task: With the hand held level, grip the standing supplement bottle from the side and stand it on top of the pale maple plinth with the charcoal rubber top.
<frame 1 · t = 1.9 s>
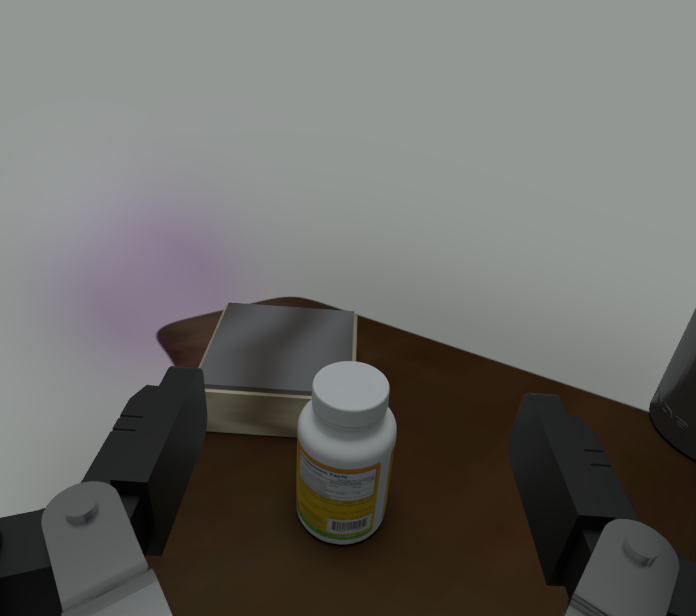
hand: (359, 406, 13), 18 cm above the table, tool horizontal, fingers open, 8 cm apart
supplement bottle: (340, 509, 32), on the table
plinth: (282, 384, 42), on the table
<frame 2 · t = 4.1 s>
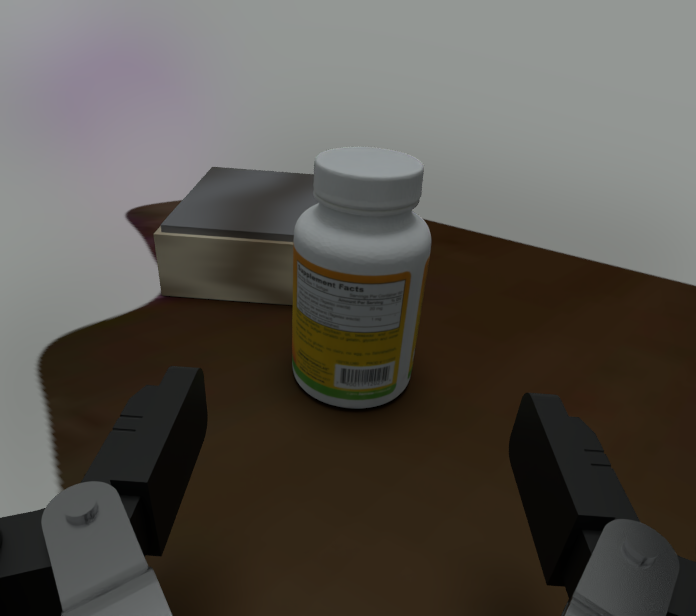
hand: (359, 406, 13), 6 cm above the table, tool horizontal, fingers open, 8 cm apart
supplement bottle: (350, 375, 24), on the table
plinth: (277, 259, 34), on the table
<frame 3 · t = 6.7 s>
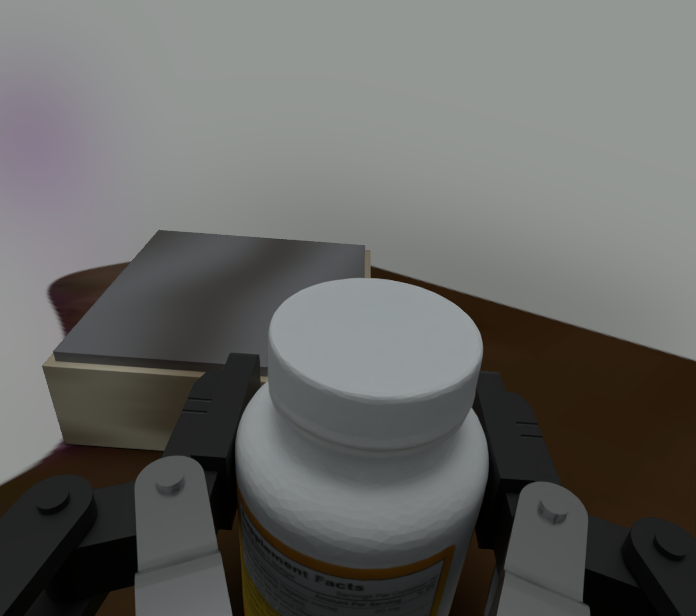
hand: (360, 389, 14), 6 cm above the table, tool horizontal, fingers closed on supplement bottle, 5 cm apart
plinth: (243, 363, 24), on the table
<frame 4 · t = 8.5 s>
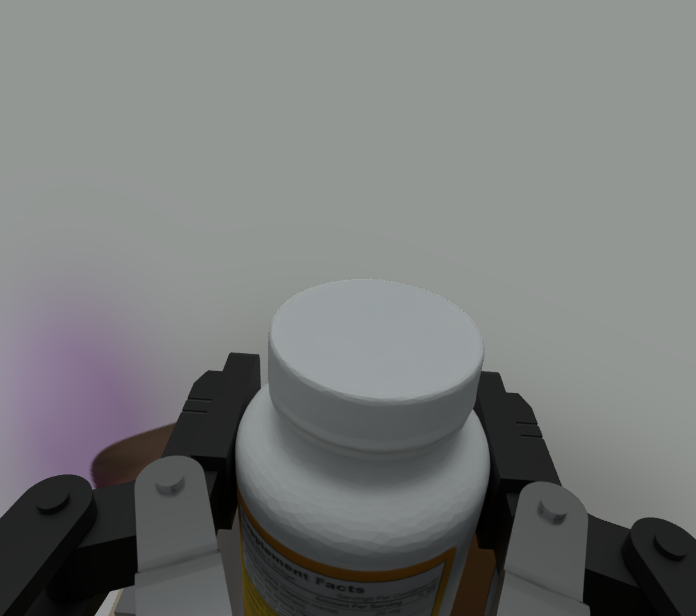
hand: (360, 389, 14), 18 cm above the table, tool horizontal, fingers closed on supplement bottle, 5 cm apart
plinth: (263, 562, 28), on the table
when the fingers open (11 cm above the table, at t = 10.7 s): supplement bottle drops 1 cm, resting on plinth.
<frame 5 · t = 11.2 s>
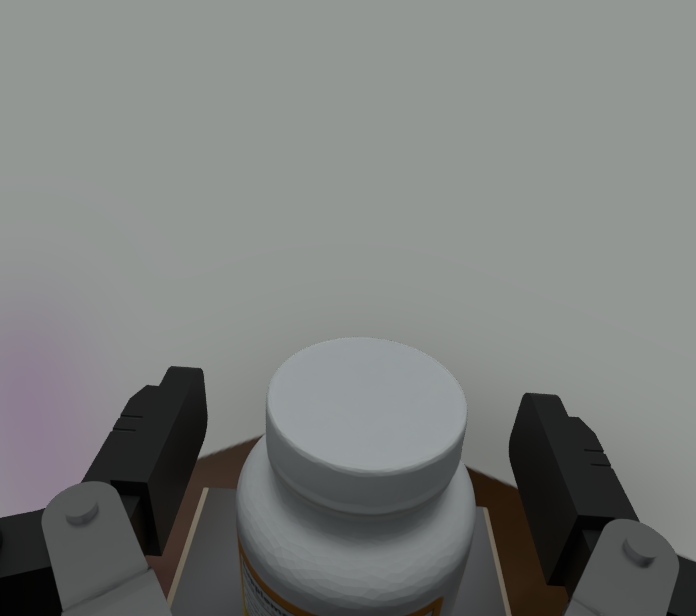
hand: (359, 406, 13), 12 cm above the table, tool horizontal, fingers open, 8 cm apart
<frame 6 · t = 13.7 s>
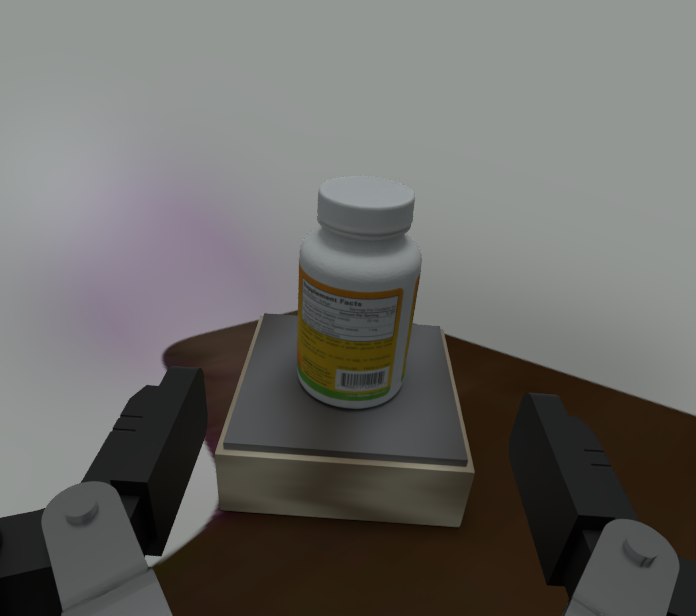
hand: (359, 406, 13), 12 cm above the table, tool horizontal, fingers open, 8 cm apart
supplement bottle: (349, 379, 27), point 4 cm above the table, touching plinth
plinth: (344, 432, 29), on the table
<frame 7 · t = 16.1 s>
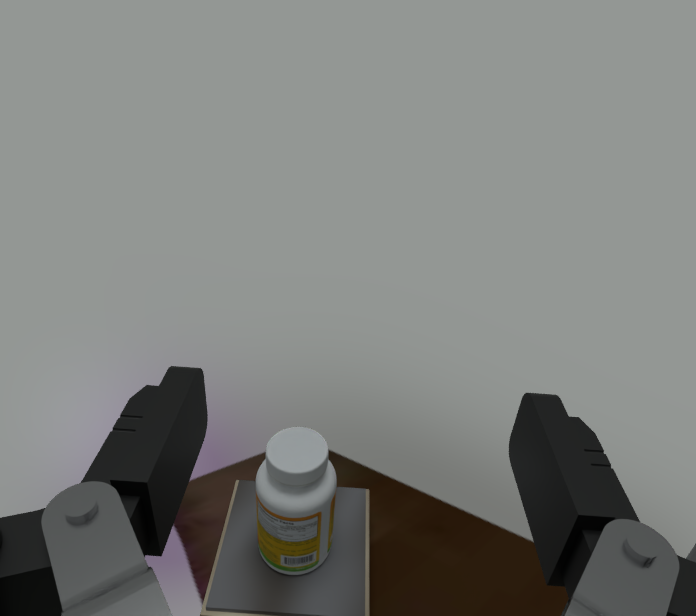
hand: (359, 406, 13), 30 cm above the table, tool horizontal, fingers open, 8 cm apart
supplement bottle: (295, 544, 39), point 4 cm above the table, touching plinth
plinth: (294, 573, 41), on the table
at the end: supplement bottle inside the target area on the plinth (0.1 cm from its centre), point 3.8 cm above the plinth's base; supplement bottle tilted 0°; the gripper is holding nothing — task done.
